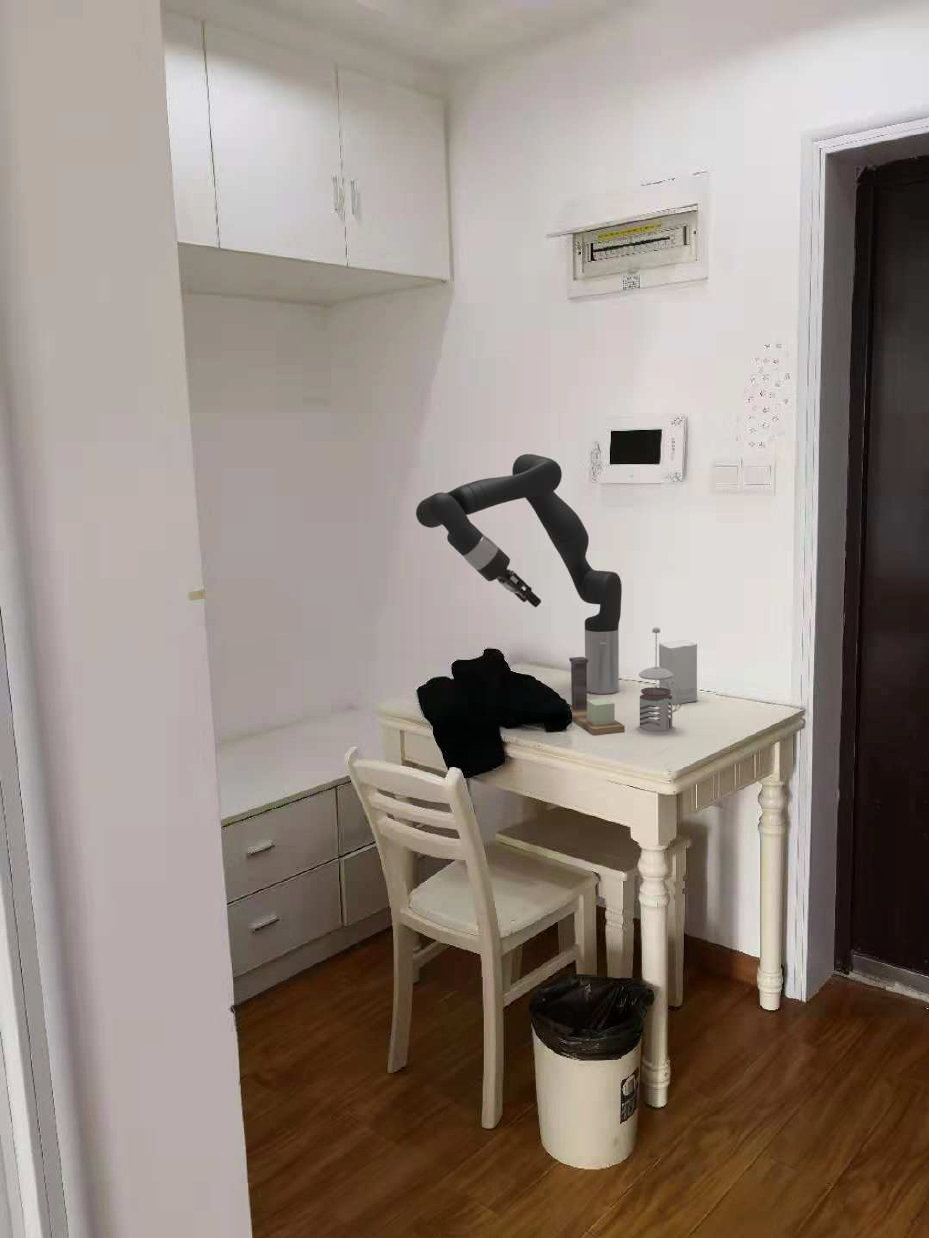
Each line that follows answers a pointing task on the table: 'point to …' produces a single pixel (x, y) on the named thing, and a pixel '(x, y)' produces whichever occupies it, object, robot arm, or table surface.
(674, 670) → the skincare box
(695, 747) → the table surface
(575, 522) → the robot arm
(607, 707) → the sage block
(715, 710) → the table surface
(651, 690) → the french press
